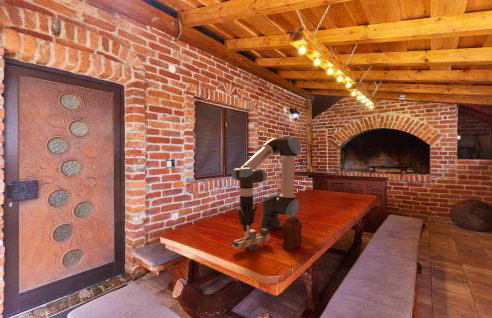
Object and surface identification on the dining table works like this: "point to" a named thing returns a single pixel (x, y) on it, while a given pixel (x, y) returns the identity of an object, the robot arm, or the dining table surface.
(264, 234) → the beam
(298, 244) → the wooden figurine
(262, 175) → the robot arm
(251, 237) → the block
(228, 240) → the dining table surface
